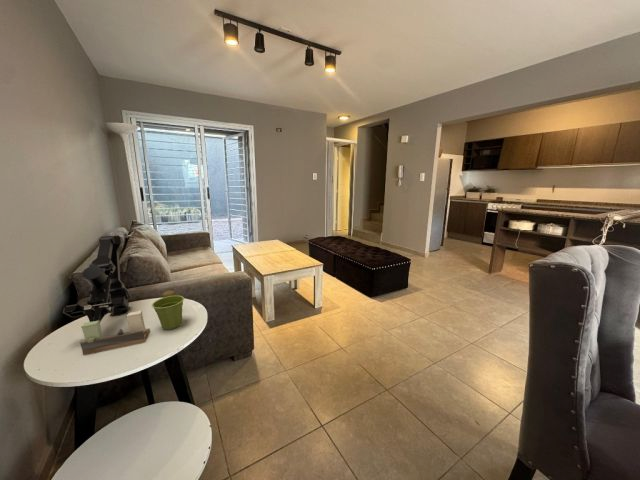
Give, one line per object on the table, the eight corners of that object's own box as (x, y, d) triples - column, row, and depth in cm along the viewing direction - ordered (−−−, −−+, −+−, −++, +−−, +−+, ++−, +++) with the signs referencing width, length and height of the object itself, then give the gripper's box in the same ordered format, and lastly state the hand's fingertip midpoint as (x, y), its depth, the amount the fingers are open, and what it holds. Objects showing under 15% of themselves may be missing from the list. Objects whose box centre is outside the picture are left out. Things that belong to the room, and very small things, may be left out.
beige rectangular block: (133, 332, 101) (128, 312, 99) (145, 329, 103) (141, 310, 101) (130, 335, 99) (126, 316, 97) (144, 333, 100) (139, 313, 98)
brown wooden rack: (93, 342, 99) (90, 329, 97) (150, 331, 105) (147, 319, 104) (82, 355, 91) (78, 342, 90) (144, 342, 97) (141, 330, 96)
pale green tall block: (90, 343, 95) (84, 323, 93) (104, 340, 96) (99, 320, 94) (86, 347, 93) (81, 326, 91) (101, 344, 94) (96, 323, 92)
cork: (164, 317, 115) (160, 295, 113) (165, 312, 121) (161, 290, 118) (179, 314, 118) (175, 292, 116) (179, 308, 123) (176, 287, 121)
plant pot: (189, 327, 107) (185, 302, 105) (156, 336, 101) (151, 311, 99) (186, 315, 117) (182, 292, 115) (156, 323, 111) (151, 299, 108)
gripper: (135, 293, 112) (131, 328, 104) (82, 301, 105) (74, 340, 98) (125, 283, 103) (121, 321, 95) (66, 291, 96) (57, 332, 89)
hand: (94, 328), depth 95 cm, fingers closed, pressing on pale green tall block
